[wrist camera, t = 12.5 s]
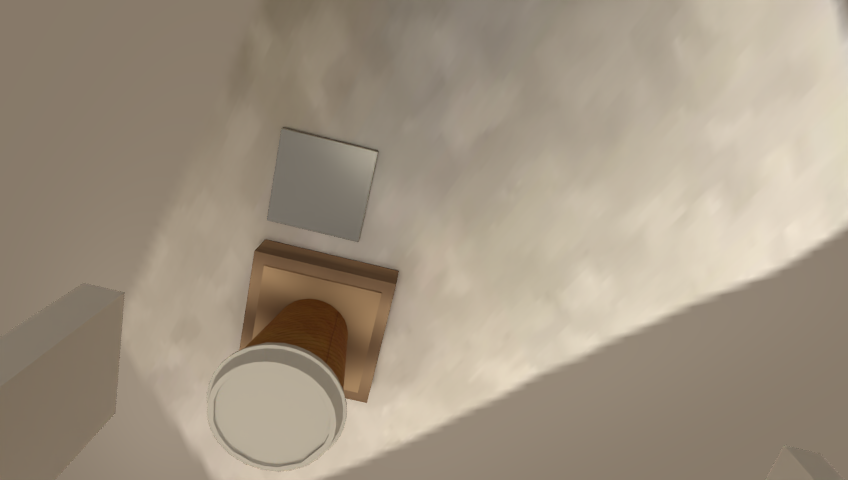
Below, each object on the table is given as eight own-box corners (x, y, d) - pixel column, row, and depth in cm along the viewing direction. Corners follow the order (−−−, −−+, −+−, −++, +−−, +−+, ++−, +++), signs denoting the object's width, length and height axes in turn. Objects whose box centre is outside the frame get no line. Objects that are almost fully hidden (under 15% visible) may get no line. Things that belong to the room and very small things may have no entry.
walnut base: (265, 239, 49) (253, 252, 46) (398, 271, 49) (395, 285, 46) (246, 356, 53) (234, 374, 50) (370, 384, 53) (366, 404, 50)
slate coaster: (283, 127, 46) (281, 128, 45) (378, 150, 46) (377, 152, 46) (268, 218, 48) (266, 220, 48) (359, 239, 49) (358, 241, 48)
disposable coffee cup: (276, 388, 50) (228, 487, 39) (241, 293, 47) (177, 370, 36) (379, 368, 49) (360, 464, 38) (349, 270, 46) (319, 341, 35)
